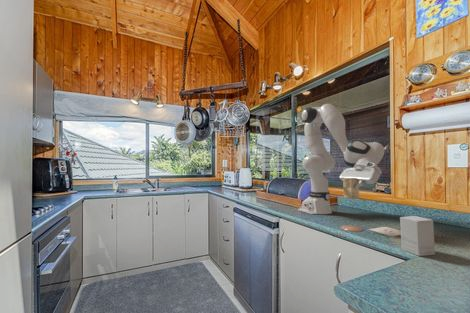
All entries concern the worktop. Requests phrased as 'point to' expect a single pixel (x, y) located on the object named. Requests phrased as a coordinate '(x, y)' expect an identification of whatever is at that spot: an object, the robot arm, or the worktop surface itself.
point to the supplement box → (417, 235)
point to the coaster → (352, 228)
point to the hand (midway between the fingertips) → (350, 187)
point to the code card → (387, 231)
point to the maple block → (350, 188)
